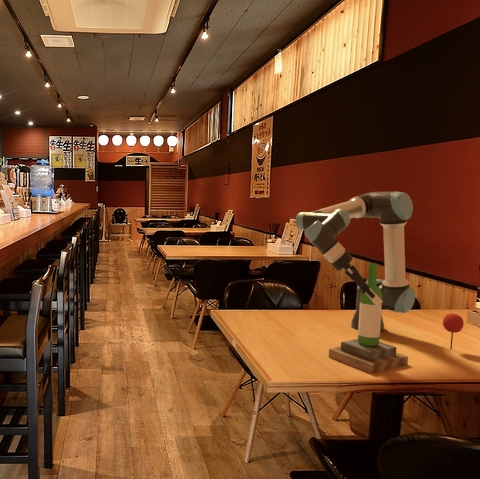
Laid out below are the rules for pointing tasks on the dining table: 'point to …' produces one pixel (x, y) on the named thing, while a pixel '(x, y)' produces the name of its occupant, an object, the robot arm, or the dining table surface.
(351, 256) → the robot arm
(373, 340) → the wine bottle
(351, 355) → the plinth
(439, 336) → the dining table surface
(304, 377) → the dining table surface
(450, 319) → the lollipop
